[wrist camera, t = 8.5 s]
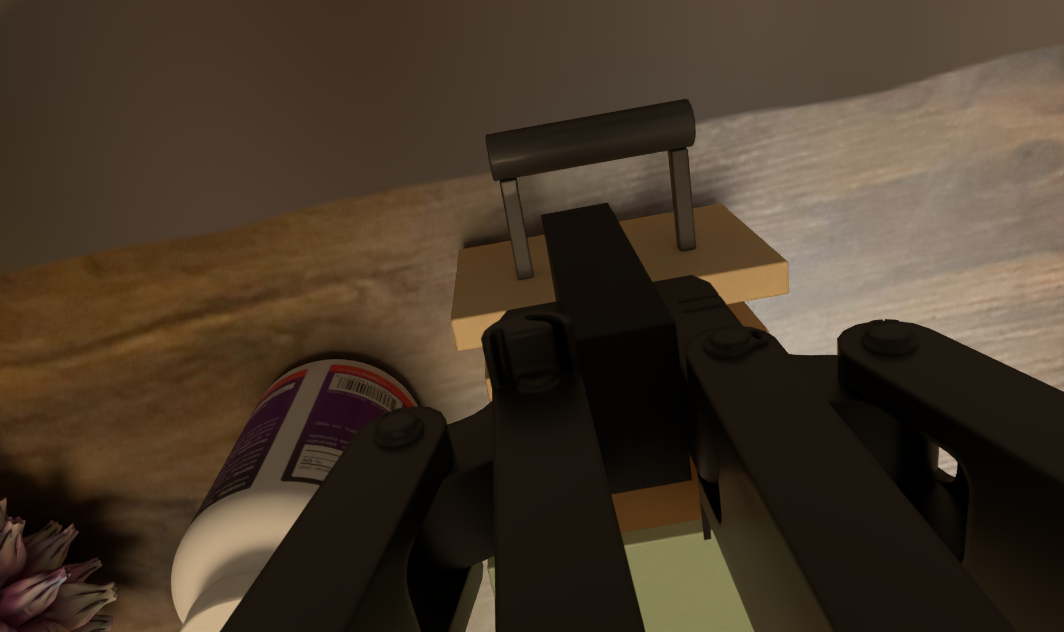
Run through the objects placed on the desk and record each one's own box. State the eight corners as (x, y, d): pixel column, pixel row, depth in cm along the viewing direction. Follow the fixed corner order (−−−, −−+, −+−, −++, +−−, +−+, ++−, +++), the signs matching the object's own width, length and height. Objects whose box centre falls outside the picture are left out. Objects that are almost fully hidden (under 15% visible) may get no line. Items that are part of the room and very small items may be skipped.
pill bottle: (285, 505, 38) (175, 778, 25) (237, 364, 35) (82, 589, 21) (443, 481, 38) (419, 741, 24) (410, 337, 35) (362, 546, 21)
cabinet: (487, 432, 37) (487, 569, 28) (741, 388, 37) (822, 512, 28) (536, 650, 43) (548, 821, 34) (756, 613, 42) (826, 775, 33)
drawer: (431, 124, 30) (413, 163, 23) (712, 74, 30) (783, 97, 23) (513, 503, 37) (519, 622, 30) (739, 464, 37) (799, 575, 30)
